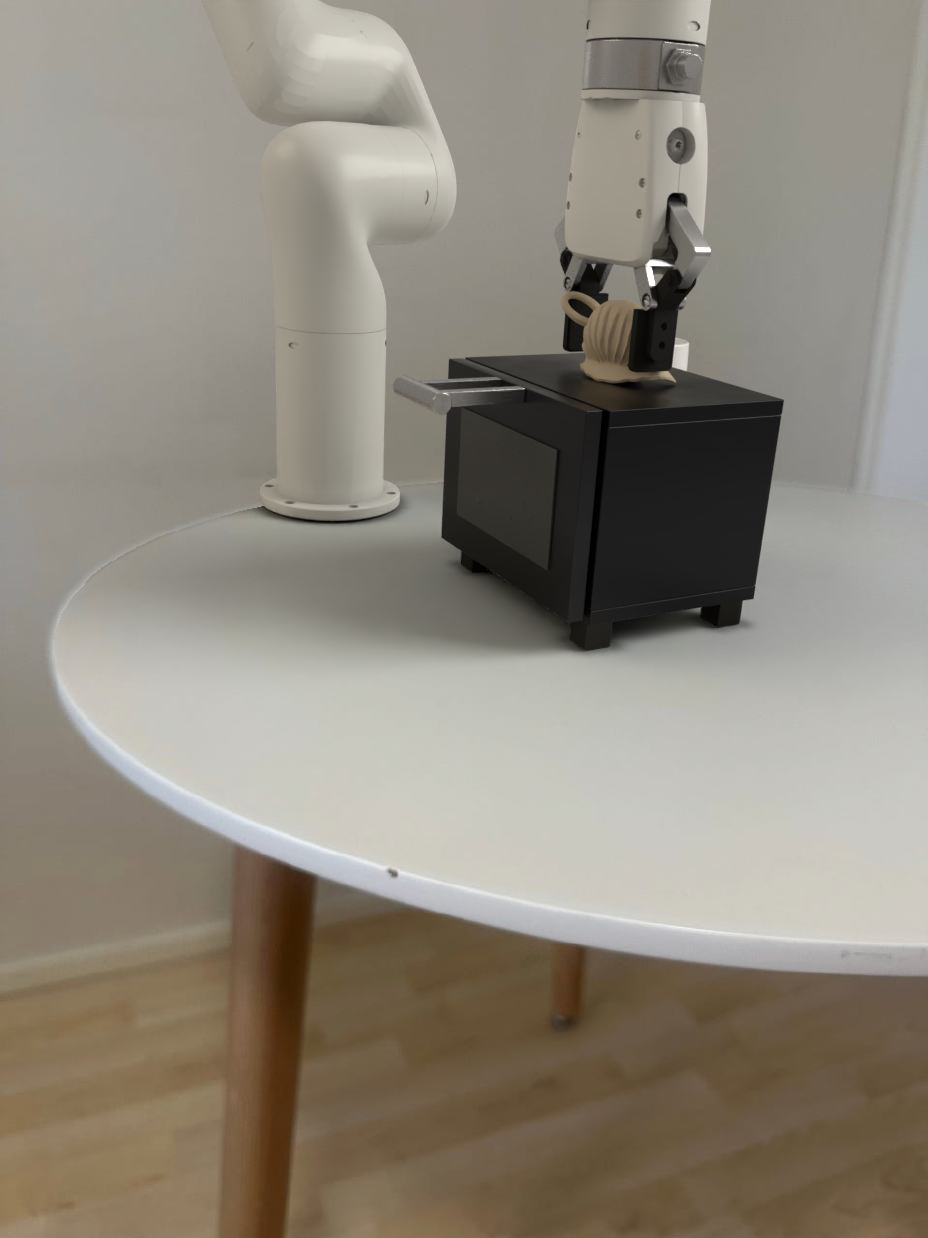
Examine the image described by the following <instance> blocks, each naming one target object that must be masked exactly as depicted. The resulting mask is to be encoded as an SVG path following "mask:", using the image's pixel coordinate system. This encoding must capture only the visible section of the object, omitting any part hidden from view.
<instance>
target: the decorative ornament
mask: <svg viewBox="0 0 928 1238" xmlns="http://www.w3.org/2000/svg"><path fill="white" fill-rule="evenodd" d="M569 299H577V300H580V301H582V302H584V303H585V304H587V305H588V306H589V307H590V308H591V309H592V310H593V312H592V314H591V316H590V317H589V318H586V317H584V316H582V315H580V314H578V313H577V312H576V311H574V310H573V309H572V308H571V307H570V305H569V303H568V300H569ZM560 306H561V308H562V310H563V312H564V314H565V313H566V314H567V315H568V316H569V317H570V318H571V319H572V320H573V321H575V322H576V323H578V324H580V325H582V326H584V333H583V338H584V339H583V341H584V342H583V343H582V349H583V351H584V352H583V353H585V356H586V358H585V361H584V362H583V363H580V367H581V370H582V371H584V372H585V374H586V375H587V376H590V377H591V378H593V379H594V380H596V381H604V382H609V383H622V382H626V381H632V382H636V381H640V380H654V379H667V380H670V381H672V382H674V383H676V381H675V379H674V378H673V377H672V375H671V374H670V373H669V371H660V372H639V373H636V372H633V371H630V370H629V368H628V360H629V350H630V340H631V329H632V319H633V312H634V309H642V307H641V304H638V303H635V302H633V301H629V300H624V299H611V300H608V301H606V302H604V303H603V304H601V305H600V304H599V303H597V302H596V301H595V300H594V299H592V298H591V297H589V296H587V295H585V294H583V293H580V292H574V291H571V292H565V293H563V294H562V295H561V298H560Z"/></svg>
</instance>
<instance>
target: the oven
mask: <svg viewBox="0 0 928 1238" xmlns="http://www.w3.org/2000/svg"><path fill="white" fill-rule="evenodd" d="M585 358H586V356H585V353H584V352H569V353H547V354H544V353H542V354H540V353H539V354H515V355H492V356H491V355H490V356H469V357H468V356H466V357H464V359H466V360H469V361H471V362H474V363H477V364H480V365H482V366H485V367H488V368H490V369H493V370H496V371H498V372H501V373H504V374H506V375H509V376H512V377H514V378H517V379H520V380H522V381H525V382H528V383H531V384H533V385H536V386H539V387H541V388H544V389H547V390H549V391H552V392H555V393H557V394H560V395H563V396H565V397H568V398H571V399H573V400H576V401H579V402H582V403H584V404H587V405H590V406H592V407H595V408H598V409H600V410H602V411H603V413H602V423H601V434H600V445H599V455H598V466H597V477H596V487H595V498H594V509H593V519H592V530H591V541H590V551H589V562H588V573H587V583H586V594H585V605H584V615H583V620H582V621H576V622H570V628H569V638H568V639H569V641H571V642H572V643H573V644H575V645H576V646H578V647H579V648H581V649H582V650H584V651H591V650H597V649H602V648H607V647H608V648H609V647H610V646H611V640H612V632H613V624H614V622H621V621H626V620H627V621H628V620H633V619H634V620H635V619H638V618H644V617H651V616H657V615H663V614H670V613H676V612H681V611H682V612H683V611H688V610H694V609H700V614H699V618H700V619H701V620H703V621H704V622H707V623H708V624H710V625H712V626H714V627H715V628H719V629H720V628H723V627H729V626H736V625H740V623H741V616H742V611H743V603H744V601H750V600H754V599H755V592H756V584H757V578H758V573H759V566H760V559H761V553H762V545H763V541H764V540H763V539H764V532H765V526H766V520H767V514H768V507H769V501H770V500H769V499H770V492H771V486H772V481H773V474H774V469H775V461H776V453H777V448H778V440H779V434H780V429H781V428H780V427H781V420H782V415H783V409H784V404H785V399H783V398H780V397H777V396H773V395H769V394H765V393H762V392H759V391H756V390H753V389H749V388H746V387H743V386H739V385H736V384H731V383H728V382H725V381H721V380H718V379H715V378H711V377H707V376H704V375H700V374H697V373H694V372H690V371H688V370H687V371H684V370H681V369H677V368H674V367H671V369H670V370H669V373H670V374H671V375H672V377H673V378H674V379H675V381H676V383H674V382H672V381H670V380H667V379H654V380H640V381H636V382H632V381H626V382H622V383H609V382H604V381H596V380H594V379H593V378H591V377H590V376H587V375H586V374H585V372H584V371H582V370H581V367H580V363H583V362H584V361H585ZM460 565H461V566H462V567H464V568H465V569H467V570H468V571H470V572H471V573H476V572H484V571H485V572H487V571H490V570H489V569H487V568H486V567H484V566H483V565H481V564H480V563H478V562H477V561H475V560H474V559H472V558H471V557H469V556H468V555H466V554H465V553H463V552H462V551H460Z"/></svg>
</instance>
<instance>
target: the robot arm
mask: <svg viewBox="0 0 928 1238" xmlns="http://www.w3.org/2000/svg"><path fill="white" fill-rule="evenodd" d="M201 2H202V4H203V7H204V10H205V13H206V14H207V17H208V21H209V22H210V25H211V27H212V30H213V32H214V35H215V37H216V40H217V42H218V44H219V48H220V50H221V52H222V55H223V57H224V59H225V60H224V61H225V62H226V64H227V67H228V70H229V73H230V75H231V77H232V79H233V82H234V84H235V86H236V89H237V91H238V93H239V96H240V98H241V99H242V101H243V103H244V105H245V106H246V108H247V109H248V111H249V112H250V113H251V114H252V115H253V116H254V117H256V118H257V119H259V120H260V121H262V122H265V123H267V124H270V125H276V126H281V127H287V128H285V129H284V130H282V131H280V132H279V133H278V134H277V135H276V136H274V138H273V139H272V140H270V141H269V144H268V145H267V147H266V149H265V151H264V153H263V156H262V159H261V161H260V166H259V175H258V176H259V177H258V178H259V180H258V181H259V194H260V195H259V196H260V202H261V207H262V212H263V217H264V221H265V226H266V231H267V236H268V243H269V244H268V245H269V251H270V259H271V269H272V285H273V287H272V289H273V325H274V361H275V362H274V364H275V366H274V367H275V369H274V370H275V372H274V373H275V432H276V433H275V434H276V435H275V437H276V441H275V442H276V444H275V445H276V446H275V447H276V477H273V478H271V479H268V480H267V481H266V482H264V483H263V484H262V485H260V488H259V493H258V494H259V495H258V496H259V497H258V498H259V499H258V500H259V502H260V504H261V505H262V506H263V507H264V508H266V509H267V510H269V511H271V512H273V513H276V514H278V515H281V516H285V517H289V518H294V519H301V520H311V521H321V522H322V521H325V522H338V521H339V522H340V521H341V522H342V521H343V522H345V521H356V520H364V519H370V518H375V517H379V516H383V515H386V514H388V513H391V512H392V511H394V510H395V509H396V508H397V507H398V506H399V505H400V502H401V491H400V489H399V488H398V486H397V485H396V484H394V483H393V482H391V481H388V480H386V479H384V467H385V465H384V461H385V460H384V459H385V419H386V418H385V417H386V377H387V376H386V370H387V319H388V317H387V315H388V312H387V298H386V293H385V289H384V285H383V282H382V279H381V276H380V274H379V272H378V269H377V267H376V265H375V263H374V261H373V258H372V255H371V252H370V250H369V247H370V246H391V245H393V246H395V245H411V244H418V243H422V242H425V241H429V240H431V239H433V238H435V237H436V236H438V235H439V234H440V233H441V232H443V231H444V230H445V228H447V226H448V224H449V222H451V219H452V217H453V214H454V212H455V208H456V203H457V194H458V185H457V184H458V183H457V175H456V169H455V166H454V164H455V163H454V161H453V157H452V155H451V151H450V149H449V146H448V143H447V140H446V138H445V136H444V134H443V131H442V128H441V126H440V123H439V121H438V118H437V116H436V113H435V110H434V108H433V106H432V103H431V101H430V98H429V96H428V93H427V90H426V88H425V85H424V83H423V81H422V78H421V76H420V73H419V71H418V68H417V66H416V64H415V61H414V59H413V57H412V55H411V52H410V50H409V48H408V47H407V45H406V43H405V42H404V40H403V38H402V37H401V36H400V35H399V34H398V32H397V31H396V30H395V29H394V28H393V27H392V26H391V25H390V24H388V23H387V22H386V21H385V20H383V19H381V18H379V17H378V16H377V15H374V14H371V13H367V12H364V11H361V10H355V9H349V8H344V7H338V6H332V5H330V4H327V3H326V2H323V1H322V0H201ZM711 3H712V0H588V1H587V15H586V28H585V41H584V42H585V43H584V52H583V53H584V54H583V65H582V66H583V67H582V78H581V90H580V100H581V106H580V111H579V116H578V119H577V125H576V130H575V134H574V141H573V147H572V153H571V160H570V167H569V174H568V181H567V182H568V183H567V191H566V202H565V213H564V214H565V215H564V216H563V218H561V220H560V221H559V223H558V224H557V226H556V227H555V229H554V238H555V241H556V245H557V248H558V252H559V255H560V257H559V264H560V266H561V269H562V272H563V274H564V276H563V280H562V287H563V288H562V289H563V290H564V292H565V293H567V292H571V291H574V292H580V293H583V294H585V295H587V296H589V297H591V298H592V299H594V300H595V301H596V302H597V303H599V304H600V305H601V304H603V303H604V302H606V301H609V295H610V293H607V292H602V291H603V290H604V288H605V285H606V283H607V281H608V279H609V276H610V274H611V271H612V270H613V267H614V265H616V266H622V267H628V268H632V269H633V273H634V279H635V283H636V288H637V293H638V297H639V303H640V306H641V307H642V309H634V312H633V319H632V329H631V340H630V350H629V360H628V368H629V370H630V371H633V372H636V373H639V372H660V371H669V370H670V369H671V367H672V363H673V354H674V345H675V337H677V335H676V334H677V328H678V327H677V325H678V319H679V311H682V310H683V309H684V308H685V306H686V304H687V296H688V295H689V294H690V293H691V291H692V290H693V289H694V288H695V286H696V284H697V279H698V277H699V276H700V274H701V273H702V271H703V270H704V269H705V266H706V265H707V263H708V262H709V260H710V259H711V255H712V250H711V247H710V245H709V244H708V242H707V240H706V239H705V236H704V229H705V221H706V220H705V218H706V206H707V189H708V166H709V164H708V163H709V153H708V151H709V148H708V146H709V145H708V143H709V140H708V122H707V120H708V119H707V112H706V103H703V102H700V101H701V93H702V85H703V83H702V82H703V75H704V66H705V65H704V64H705V56H706V46H707V39H708V32H709V21H710V13H711ZM593 265H594V266H593ZM654 275H662V277H661V278H660V279H659V281H657V283H656V281H655V276H654ZM568 303H569V305H570V307H571V308H572V309H573V310H574V311H576V312H577V313H578V314H580V315H582V316H584V317H586V318H589V317H590V316H591V314H592V312H593V310H592V309H591V308H590V307H589V306H588V305H587V304H585V303H584V302H582V301H580V300H577V299H569V300H568ZM563 323H564V324H563V336H562V349H563V350H564V351H566V352H569V353H584V351H583V349H582V343H583V342H584V341H583V339H584V338H583V333H584V326H582V325H580V324H578V323H576V322H575V321H573V320H572V319H571V318H570V317H569V316H568V315H567V314H566V313H565V312H564V322H563Z"/></svg>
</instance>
